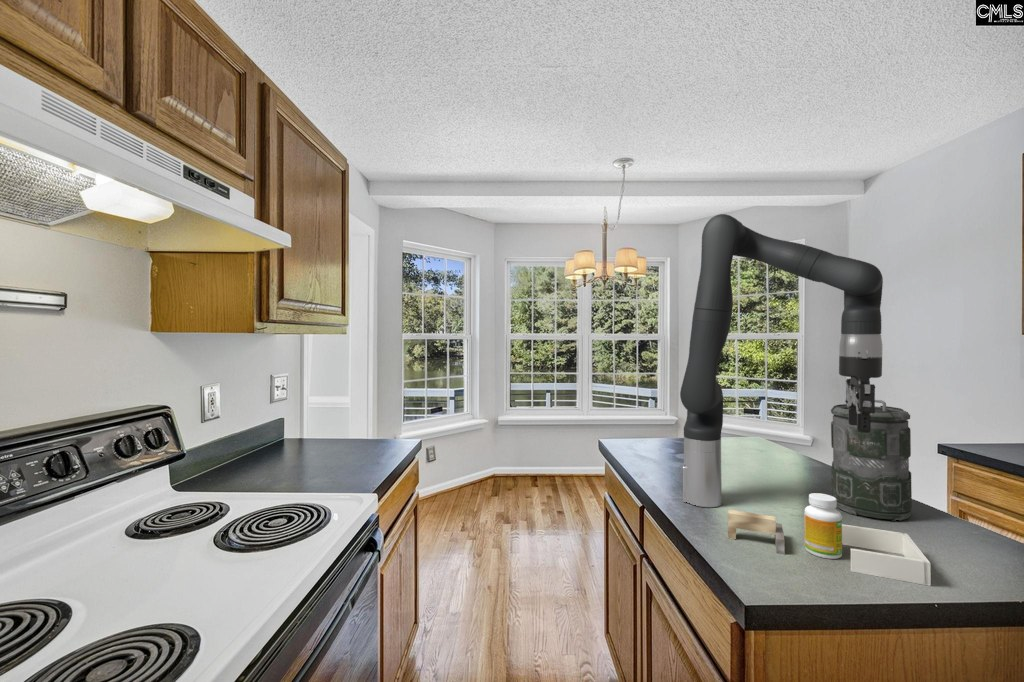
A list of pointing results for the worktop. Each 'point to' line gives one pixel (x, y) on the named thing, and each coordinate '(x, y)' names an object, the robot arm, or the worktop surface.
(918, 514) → the worktop surface
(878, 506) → the canister
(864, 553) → the box
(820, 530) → the supplement bottle
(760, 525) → the scraper
